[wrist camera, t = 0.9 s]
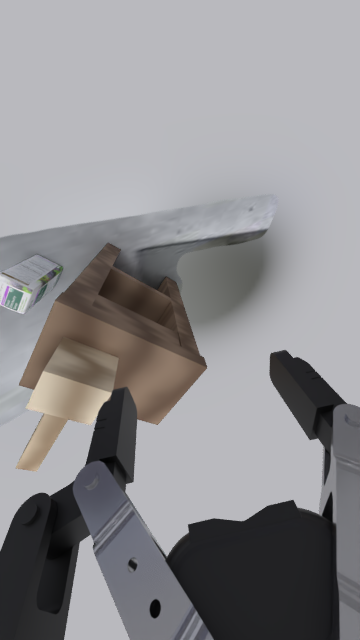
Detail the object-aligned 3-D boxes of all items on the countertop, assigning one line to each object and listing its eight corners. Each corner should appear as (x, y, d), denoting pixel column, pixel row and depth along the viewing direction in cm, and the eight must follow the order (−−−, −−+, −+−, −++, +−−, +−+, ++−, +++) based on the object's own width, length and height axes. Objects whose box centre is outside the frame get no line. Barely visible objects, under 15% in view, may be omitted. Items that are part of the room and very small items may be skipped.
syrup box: (55, 287, 51) (25, 316, 39) (28, 274, 49) (-14, 301, 36) (63, 266, 49) (35, 290, 37) (36, 252, 47) (-5, 273, 34)
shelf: (87, 285, 52) (18, 385, 24) (109, 240, 48) (55, 300, 20) (153, 317, 58) (157, 425, 31) (177, 280, 54) (207, 367, 27)
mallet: (10, 445, 29) (-14, 489, 25) (63, 336, 22) (43, 370, 18) (57, 454, 31) (42, 496, 27) (118, 358, 24) (112, 393, 20)
